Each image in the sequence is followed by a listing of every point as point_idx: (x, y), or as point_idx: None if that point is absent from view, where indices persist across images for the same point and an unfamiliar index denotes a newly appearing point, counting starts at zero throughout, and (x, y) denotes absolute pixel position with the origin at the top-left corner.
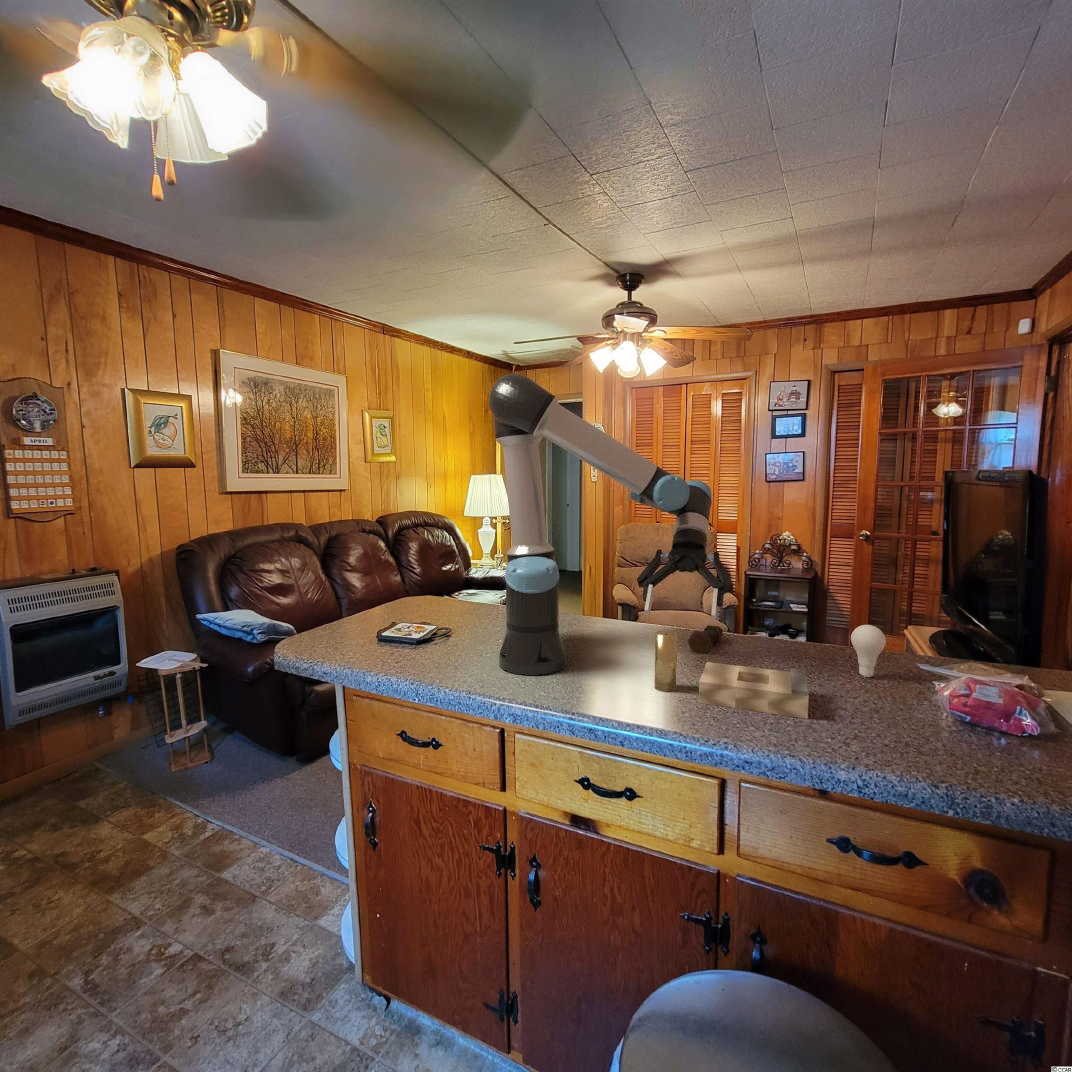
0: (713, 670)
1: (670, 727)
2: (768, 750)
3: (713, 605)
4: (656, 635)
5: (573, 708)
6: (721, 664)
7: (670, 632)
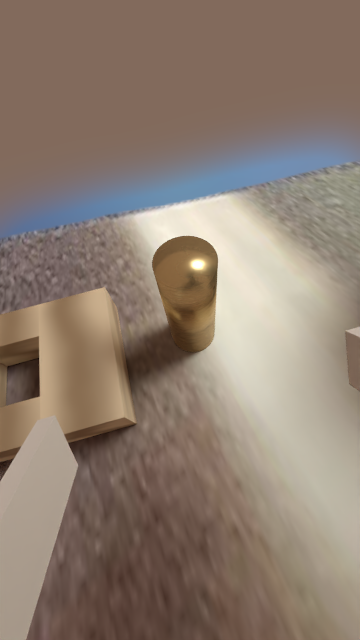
0: (94, 363)
1: (125, 221)
2: (10, 238)
3: (26, 457)
4: (203, 241)
5: (259, 193)
6: (86, 420)
7: (179, 276)
